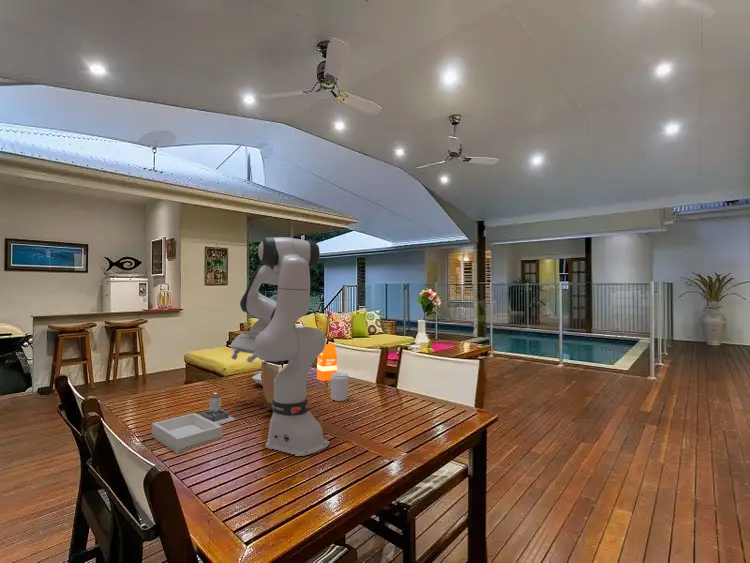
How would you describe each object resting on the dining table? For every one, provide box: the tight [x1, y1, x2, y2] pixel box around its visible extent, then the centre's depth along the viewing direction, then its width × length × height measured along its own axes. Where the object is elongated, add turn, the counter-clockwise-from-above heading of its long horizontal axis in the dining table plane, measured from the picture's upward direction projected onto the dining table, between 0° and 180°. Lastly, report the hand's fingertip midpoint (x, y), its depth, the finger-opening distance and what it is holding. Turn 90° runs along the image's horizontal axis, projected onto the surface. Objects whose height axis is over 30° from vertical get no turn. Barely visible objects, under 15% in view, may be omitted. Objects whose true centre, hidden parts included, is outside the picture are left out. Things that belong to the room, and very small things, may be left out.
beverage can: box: [330, 371, 349, 402], centre depth 184 cm, size 8×8×12 cm
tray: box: [151, 412, 223, 454], centre depth 136 cm, size 20×15×4 cm
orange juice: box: [316, 343, 338, 382], centre depth 220 cm, size 8×9×20 cm
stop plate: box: [199, 408, 236, 425], centre depth 153 cm, size 14×10×3 cm
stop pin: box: [208, 390, 222, 417], centre depth 153 cm, size 4×4×10 cm
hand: (240, 360), depth 164 cm, fingers open, 8 cm apart
